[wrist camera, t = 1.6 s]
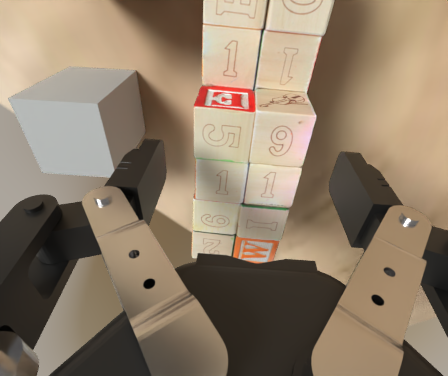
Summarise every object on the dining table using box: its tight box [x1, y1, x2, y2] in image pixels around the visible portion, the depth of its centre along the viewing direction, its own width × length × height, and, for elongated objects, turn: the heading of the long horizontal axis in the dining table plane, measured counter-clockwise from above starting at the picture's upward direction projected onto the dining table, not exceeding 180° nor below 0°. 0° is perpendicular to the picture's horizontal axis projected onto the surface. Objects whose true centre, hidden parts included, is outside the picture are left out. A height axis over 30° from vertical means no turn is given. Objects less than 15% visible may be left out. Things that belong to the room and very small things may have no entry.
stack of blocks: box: [192, 0, 335, 263], centre depth 19 cm, size 21×6×12 cm, turn 175°
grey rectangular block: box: [8, 67, 146, 177], centre depth 23 cm, size 6×6×8 cm
